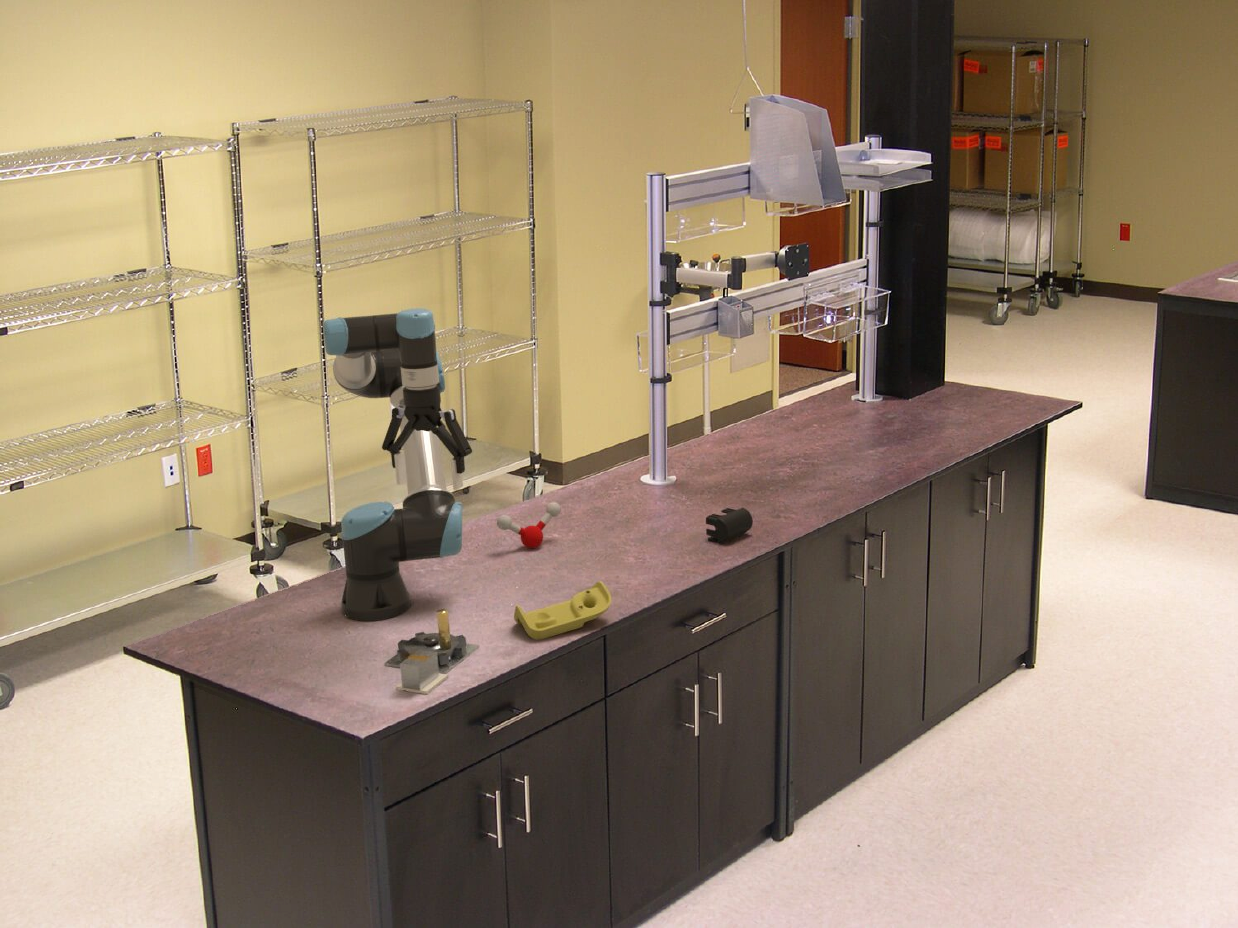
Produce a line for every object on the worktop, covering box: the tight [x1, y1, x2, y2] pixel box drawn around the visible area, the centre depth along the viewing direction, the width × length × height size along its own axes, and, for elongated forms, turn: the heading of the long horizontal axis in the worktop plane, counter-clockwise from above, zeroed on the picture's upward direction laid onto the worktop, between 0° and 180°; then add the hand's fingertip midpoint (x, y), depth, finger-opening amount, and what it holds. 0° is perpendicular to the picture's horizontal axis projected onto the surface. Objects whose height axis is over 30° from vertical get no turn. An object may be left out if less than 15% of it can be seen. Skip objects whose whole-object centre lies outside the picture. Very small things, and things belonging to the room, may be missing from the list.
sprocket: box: [396, 608, 467, 665], centre depth 299 cm, size 14×14×10 cm
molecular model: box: [496, 501, 562, 549], centre depth 360 cm, size 18×6×10 cm, turn 131°
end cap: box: [705, 507, 754, 545], centre depth 360 cm, size 10×7×7 cm
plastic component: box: [513, 580, 613, 640], centre depth 313 cm, size 20×7×10 cm
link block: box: [400, 649, 439, 690], centre depth 287 cm, size 4×7×5 cm, turn 155°
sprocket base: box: [384, 642, 480, 674], centre depth 301 cm, size 14×14×1 cm
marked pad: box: [395, 673, 449, 695], centre depth 288 cm, size 7×8×1 cm
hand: (429, 485), depth 306 cm, fingers open, 13 cm apart
